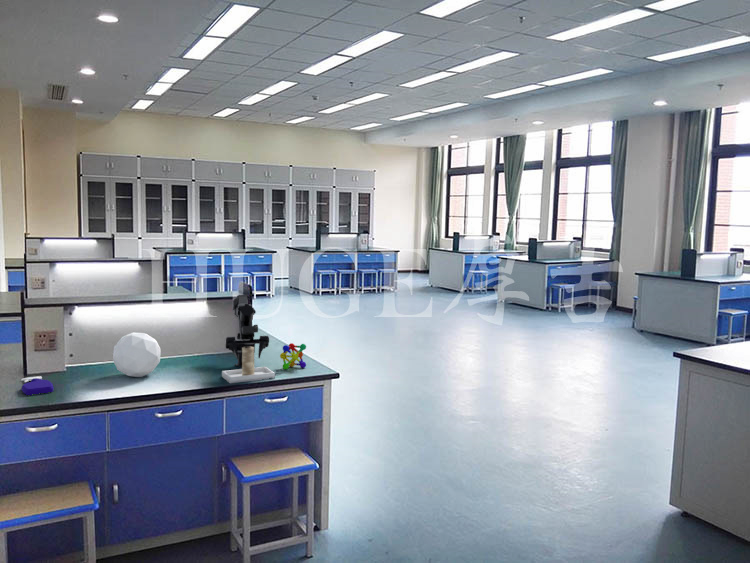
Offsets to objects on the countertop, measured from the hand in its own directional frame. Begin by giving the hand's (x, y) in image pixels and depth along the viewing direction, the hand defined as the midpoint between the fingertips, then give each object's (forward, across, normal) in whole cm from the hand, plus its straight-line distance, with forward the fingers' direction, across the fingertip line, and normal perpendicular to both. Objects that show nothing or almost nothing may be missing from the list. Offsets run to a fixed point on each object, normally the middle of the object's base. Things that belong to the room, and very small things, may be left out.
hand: (248, 358), depth 268 cm
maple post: (+5, 0, +7) cm, 8 cm away
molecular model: (-4, +22, +17) cm, 28 cm away
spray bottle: (+4, -84, +10) cm, 85 cm away
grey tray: (+5, 0, +7) cm, 9 cm away
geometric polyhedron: (-4, -46, +17) cm, 50 cm away
